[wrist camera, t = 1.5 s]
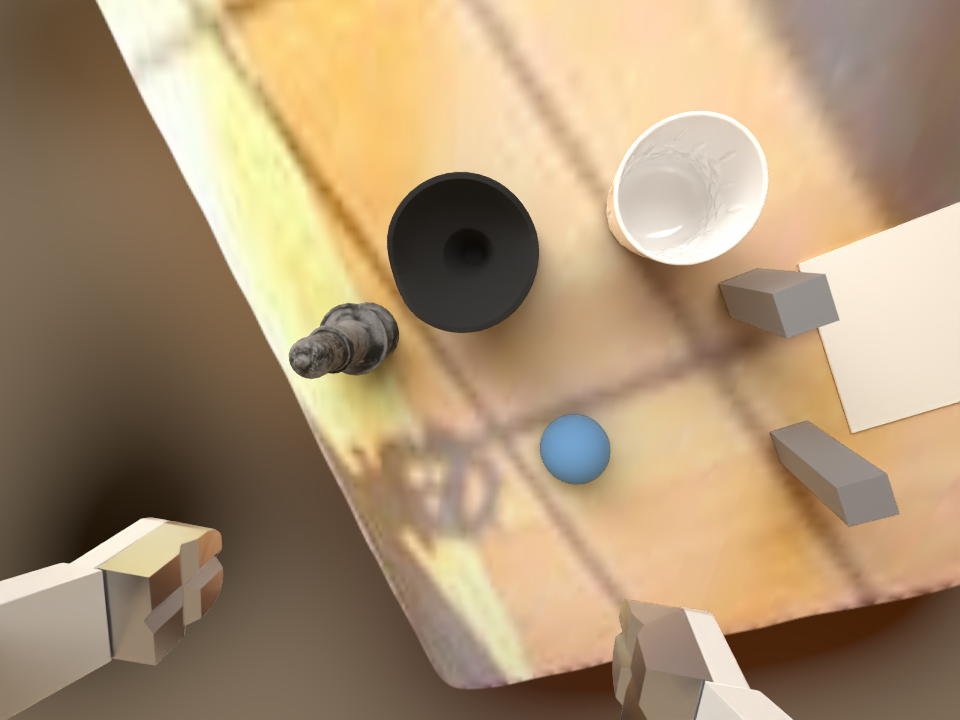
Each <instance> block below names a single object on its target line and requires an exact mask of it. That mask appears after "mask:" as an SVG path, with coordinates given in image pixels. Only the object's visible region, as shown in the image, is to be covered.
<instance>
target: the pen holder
mask: <svg viewBox="0 0 960 720" xmlns="http://www.w3.org/2000/svg"><path fill="white" fill-rule="evenodd" d="M387 249H388V256H389V261H390V265H391V269H392V272H393V276H394V279H395V282H396V285H397V287H398V290H399V292H400V295H401V296H402V298H403V300H404V302H405V304H406V305H407V306H408V308H409V309H410V311H411V312H413V313H414V314H415V315H416V316H417V317H418V318H419V319H421V320H422V321H423V322H425V323H427V324H429V325H431V326H433V327H435V328H438V329H441V330H444V331H449V332H457V333H467V332H476V331H481V330H484V329H487V328H490V327H492V326H494V325H496V324H498V323H500V322H501V321H503V320H504V319H506V318H507V317H509V316H510V315H511V314H512V313H513V312H514V311H515V310H516V309H517V308H518V307H519V306H520V305H521V303H522V302H523V300H524V299H525V297H526V296H527V294H528V292H529V290H530V288H531V286H532V284H533V281H534V278H535V276H536V271H537V267H538V258H539V245H538V238H537V233H536V230H535V227H534V224H533V222H532V220H531V217H530V215H529V213H528V212H527V210H526V209H525V207H524V206H523V204H522V203H521V202H520V201H519V199H518V198H517V197H516V196H515V195H514V194H513V193H512V192H511V191H510V190H509V189H507V188H506V187H505V186H503V185H502V184H500V183H499V182H497V181H495V180H493V179H491V178H489V177H486V176H483V175H480V174H475V173H469V172H454V173H446V174H442V175H439V176H436V177H433V178H431V179H429V180H427V181H425V182H423V183H422V184H420V185H418V186H417V187H416V188H415V189H413V190H412V191H411V192H410V193H409V194H408V195H407V196H406V197H405V198H404V199H403V200H402V202H401V203H400V205H399V206H398V207H397V209H396V211H395V213H394V215H393V217H392V220H391V222H390V225H389V230H388V235H387Z"/></svg>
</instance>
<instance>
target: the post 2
mask: <svg viewBox="0 0 960 720" xmlns="http://www.w3.org/2000/svg"><path fill="white" fill-rule="evenodd" d="M770 434H771V437H772V439H773V442H774V445H775V448H776V451H777V454H778V457H779V460H780V463H782V464H783V465H784V466H785V467H786V468H787V469H788V470H789V471H790V472H791V473H792V474H793V475H794V476H795V477H796V478H797V479H799V480H800V481H801V482H802V483H803V484H804V485H805V486H806V487H807V488H808V489H809V490H810V491H811V492H812V493H813V494H815V495H816V496H817V497H818V498H819V499H820V500H821V501H822V502H823V503H824V504H825V505H826V506H827V507H828V508H829V509H831V510H832V511H833V512H834V513H835V514H836V515H837V516H838V517H839V518H840V519H841V520H842V521H843V522H844V523H845V524H847V525H848V526H849V527H850V526H854V525H858V524H862V523H866V522H870V521H874V520H878V519H882V518H886V517H890V516H894V515H898V514H899V511H898V508H897V505H896V501H895V498H894V495H893V492H892V488H891V485H890V482H889V479H888V475H887V474H886V473H885V472H883V471H882V470H880V469H879V468H877V467H876V466H874V465H873V464H871V463H870V462H868V461H867V460H865V459H864V458H862V457H861V456H859V455H858V454H857V453H855V452H854V451H852V450H851V449H849V448H848V447H846V446H845V445H843V444H842V443H840V442H839V441H837V440H836V439H834V438H833V437H831V436H830V435H828V434H827V433H825V432H824V431H822V430H821V429H819V428H818V427H816V426H815V425H813V424H812V423H810V422H809V421H804V422H801V423H798V424H795V425H791V426H788V427H785V428H782V429H778V430H775V431H772V432H770Z"/></svg>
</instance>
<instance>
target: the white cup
mask: <svg viewBox="0 0 960 720" xmlns="http://www.w3.org/2000/svg"><path fill="white" fill-rule="evenodd" d="M767 191H768V167H767V162H766V159H765V156H764V153H763V150H762V148H761V146H760V144H759V143H758V141H757V140H756V138H755V137H754V136H753V134H752V133H751V132H750V131H749V130H748V129H747V128H746V127H744V126H743V125H742V124H740V123H739V122H737V121H736V120H734V119H732V118H730V117H728V116H725V115H722V114H719V113H714V112H707V111H693V112H686V113H681V114H677V115H674V116H671V117H669V118H667V119H664V120H662V121H661V122H659V123H657V124H655V125H654V126H652V127H651V128H650V129H648V130H647V131H646V132H645V133H643V134H642V135H641V136H640V137H639V138H638V139H637V140H636V141H635V143H634V144H633V145H632V146H631V148H630V149H629V150H628V152H627V153H626V155H625V157H624V159H623V161H622V163H621V165H620V167H619V169H618V171H617V173H616V175H615V177H614V180H613V182H612V185H611V188H610V190H609V194H608V200H607V206H606V214H607V220H608V225H609V230H610V231H611V232H612V234H613V235H614V236H615V238H616V239H617V240H618V241H619V243H620V244H621V245H622V246H624V247H626V248H627V249H629V250H630V251H632V252H634V253H636V254H638V255H640V256H642V257H645V258H648V259H652V260H655V261H658V262H661V263H665V264H670V265H693V264H699V263H703V262H706V261H709V260H712V259H714V258H716V257H718V256H720V255H722V254H724V253H726V252H727V251H729V250H730V249H732V248H733V247H734V246H736V245H737V244H738V243H739V242H740V241H741V240H742V239H743V238H744V237H745V236H746V235H747V234H748V233H749V231H750V230H751V229H752V227H753V226H754V224H755V223H756V221H757V219H758V218H759V216H760V214H761V211H762V209H763V206H764V203H765V200H766V196H767Z"/></svg>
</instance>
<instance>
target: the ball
mask: <svg viewBox="0 0 960 720" xmlns="http://www.w3.org/2000/svg"><path fill="white" fill-rule="evenodd" d="M540 452H541V457H542V460H543V463H544V465H545V467H546V468H547V470H548V471H549V472H550V473H551V474H552V475H553V476H554V477H556V478H557V479H559V480H561V481H563V482H566V483H570V484H584V483H587V482H590V481H592V480H594V479H596V478H597V477H598V476H599V475H601V474H602V472H603V471H604V470H605V468H606V466H607V464H608V462H609V458H610V443H609V439H608V437H607V435H606V433H605V431H604V430H603V428H602V427H601V426H600V425H599V424H598V423H597V422H596V421H594V420H593V419H591V418H589V417H586V416H583V415H577V414H570V415H565V416H562V417H560V418H557V419H556V420H554V421H553V422H552V423H551V424H550V425H549V426H548V427H547V428H546V430H545V431H544V433H543V436H542V439H541V443H540Z"/></svg>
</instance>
